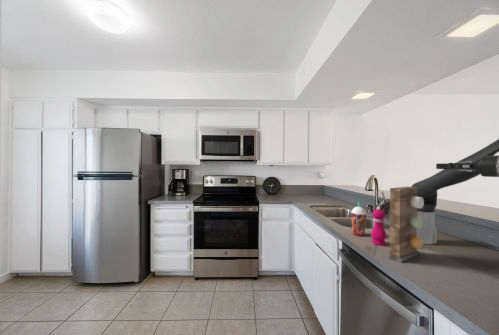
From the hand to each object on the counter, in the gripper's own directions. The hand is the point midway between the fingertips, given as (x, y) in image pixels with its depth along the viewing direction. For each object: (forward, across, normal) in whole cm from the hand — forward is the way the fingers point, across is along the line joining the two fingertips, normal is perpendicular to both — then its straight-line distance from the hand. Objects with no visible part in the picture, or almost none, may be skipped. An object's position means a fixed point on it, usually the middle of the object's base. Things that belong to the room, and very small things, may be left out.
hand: (440, 166), depth 88 cm
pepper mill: (+29, -6, +42) cm, 51 cm away
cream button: (+8, 0, +19) cm, 20 cm away
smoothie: (+43, -10, +42) cm, 61 cm away
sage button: (+8, 0, +28) cm, 29 cm away
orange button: (+8, 0, +37) cm, 37 cm away
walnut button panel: (+13, 0, +42) cm, 44 cm away
